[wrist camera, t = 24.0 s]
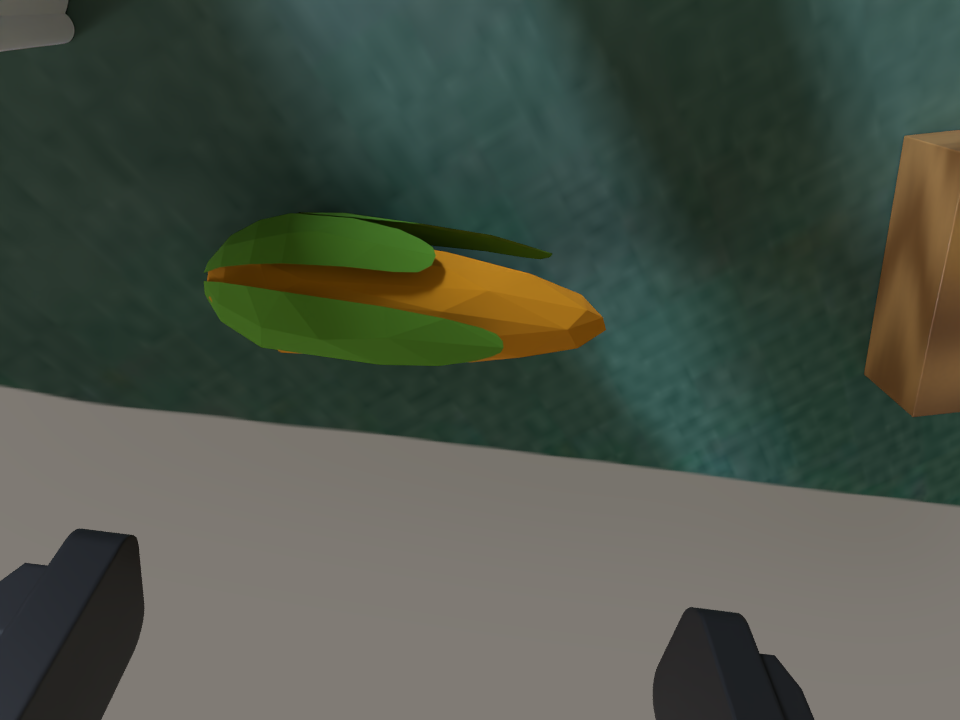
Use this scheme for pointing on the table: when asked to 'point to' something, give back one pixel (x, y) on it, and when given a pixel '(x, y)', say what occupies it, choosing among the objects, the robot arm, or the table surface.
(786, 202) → the table surface
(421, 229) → the corn
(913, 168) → the wood block
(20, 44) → the bracket
